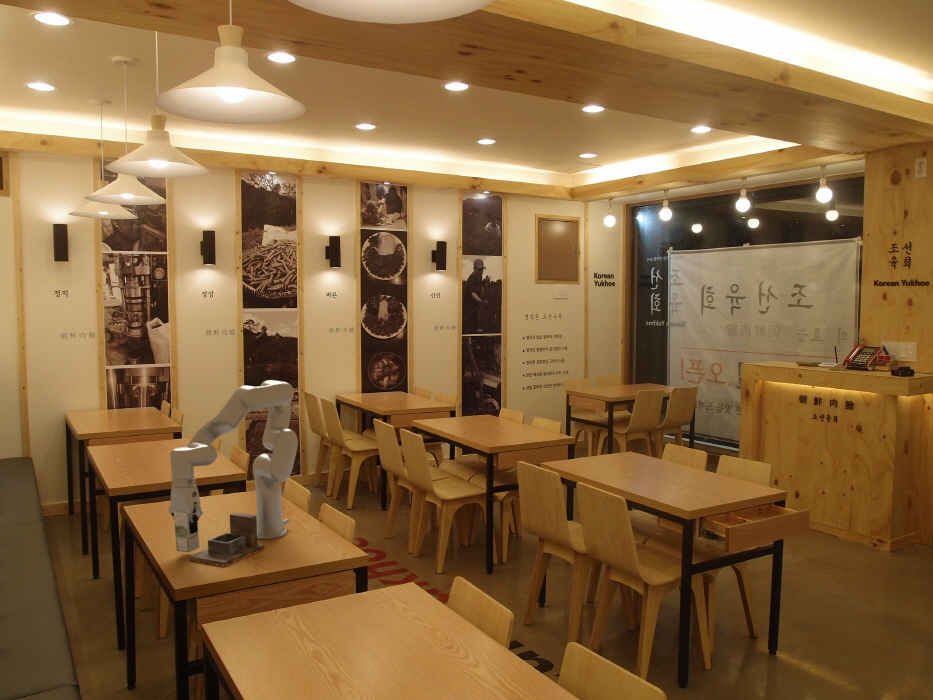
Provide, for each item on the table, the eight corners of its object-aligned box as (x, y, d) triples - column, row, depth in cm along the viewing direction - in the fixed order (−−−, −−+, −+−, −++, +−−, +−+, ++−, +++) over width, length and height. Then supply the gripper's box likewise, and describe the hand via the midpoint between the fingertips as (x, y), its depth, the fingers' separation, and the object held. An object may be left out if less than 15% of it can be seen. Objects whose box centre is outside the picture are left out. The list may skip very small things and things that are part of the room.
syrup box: (200, 547, 264) (197, 507, 263) (189, 553, 258) (186, 512, 257) (187, 545, 266) (184, 506, 264) (175, 551, 260) (172, 511, 259)
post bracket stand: (230, 543, 275) (229, 511, 274) (264, 548, 268) (262, 516, 267) (189, 560, 256) (188, 526, 256) (224, 566, 250) (223, 532, 249)
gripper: (209, 481, 260) (212, 531, 261) (173, 477, 267) (177, 526, 268) (193, 487, 253) (197, 537, 254) (157, 483, 260) (160, 532, 262)
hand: (186, 531), depth 261 cm, fingers closed on syrup box, 6 cm apart
